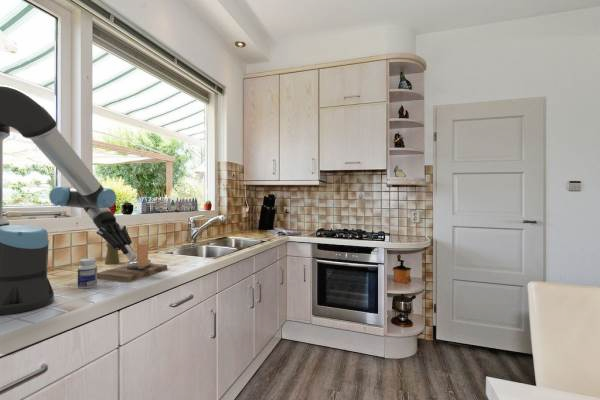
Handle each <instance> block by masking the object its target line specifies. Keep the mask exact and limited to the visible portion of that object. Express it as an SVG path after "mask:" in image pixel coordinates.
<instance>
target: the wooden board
mask: <svg viewBox="0 0 600 400" xmlns="http://www.w3.org/2000/svg"><path fill="white" fill-rule="evenodd" d="M166 270H168V265H167V264H161V263H153V262H151V266H150V267H148V268H144V269H128V268H127V264H126V265H122V266H119V267H115V268H110V269H106V270H102V271H99V272H97V280H103V281H104V280H106V281H114V282H115V281H116V282H123V283H129V282H133V281H135V280H139V279H142V278H144V277H148V276H151V275H153V274H157V273H160V272H163V271H166Z"/></svg>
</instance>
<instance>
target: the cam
mask: <svg viewBox="0 0 600 400" xmlns="http://www.w3.org/2000/svg"><path fill="white" fill-rule="evenodd" d="M136 247H137V248H136V250H137V251H136V256H137V257H136V258H135V259H134V260H133V261H129V260H128V261H127V264H126V265H127V268H128V269H144V268H148V267H150V266H151V263H152V261H151V259H149V243H148V242H137V246H136Z"/></svg>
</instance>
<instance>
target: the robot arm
mask: <svg viewBox="0 0 600 400" xmlns="http://www.w3.org/2000/svg"><path fill="white" fill-rule="evenodd" d="M57 126H58V123H57V121H56V120H55V119H54V118H53V116H52V115H51V114H50V113H49V111H48V110H47V109H46V108H44V106H43V105H41V104H40V102H38V101H37V100H36V99H34V98H33V97H32V96H30V95H29V94H27V93H26V92H24V91H22V90H20V89H18V88H15V87H13V86H9V85H3V84H1V85H0V316H2V315H3V316H4V315H13V314H14V315H15V314H21V313H25V312H28V311H29V312H30V311H35V310H37V309H39V308H44V307H46V306H48V305H50V304H52V303H53V302H54V300H55V292H54V290H53V288H52V285H51V283H50V280H49V278H48V261H49V244H50V240H49V233H48V231H47V229H45V228H43V227H40V226H35V225H24V224H10V221H9V220H7V219H6V218H5V217H3V216H4V215H3V205H4V204H3V198H4V197H3V196H4V195H3V193H4V192H3V191H4V190H3V184H4V183H3V181H4V180H3V174H4V173H3V171H4V169H3V168H4V167H3V166H4V165H3V161H4V160H3V159H4V158H3V157H4V156H3V149H4V148H3V147H4V146H3V145H4V140H5V139H6V138H8V137H10V131H11V130H10V128H12V129H13V130H16V131H17V132H18V133H19V134H20V135H21V136H22V137H23V138H25V139H29V140H30V141H32V142H33V143H34V145H35V146H36V147H37V148H38V149H39V150H40V151H41V152H42V154H43V155H44V156H45V157H46V158H47V159H48V160H49V161H50V162H51V164H53V166H54V167H55V168H56V169H57V170H58V172H59V173H61V174H62V176H63V177H64V178H65V179H66V181H67V182H68V183H69V184H70V185H71V186H72V187H68V186H66V185H65V186H62V185H57V186H55V187H53V188H52V189H51V190H50V192H49V196H48V199H49V201H50V203H51V204H52V205H55V206H59V207H67V208H68V207H69V208H70V207H71V208H79V209H80V208H81V209H83V210H84V212H85V213H86V214H87V215H88V216H89V218H90V219H91V221H93V222H92V223H93V224H94V225H95V227H96V228H97V229H98V230H97V231H96V235H98V236H100V237H102V238H103V240H104V241H105V242H106V243H107V242H108V243H109V244H110V245H111V246H112V247H113V248H115V249H116V248H118V249H117V250H118V251H121V253H122V254H124V256H125V257H126V258H127V260H128V261H133V260H135V258H137V253H136V252H134V249H133V248H132V247H131V244H132V243H133V241H132V239H131V236H130V235H129V233H128V231H127V226H126V225H123V226H121V225H120V224H119V223H118V222H117V218H116V216H115V214H113V213H112V211H111V209H110V208H111V207H113V206H114V204H115V203H116V201H117V194H116V192H115V191H114V189H111V188H108V187H106V188H104V186H103V185H102V184H101V182H100V181H99V180H98V179H97V177H96V176H95V175H94V174H93V172H91V170H90V169H89V168H88V166H87V165H86V163H84V161H83V159H81V158H80V156H79V155H78V153H77V152H76V151H75V149H74V148H73V147H72V146H71V145H70V143H69V142H68V141H67V140H66V138H65V137H64V136H63V134H62V133H61V131H59V130H58V128H57Z"/></svg>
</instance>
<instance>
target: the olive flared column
mask: <svg viewBox="0 0 600 400" xmlns="http://www.w3.org/2000/svg"><path fill="white" fill-rule="evenodd" d="M105 246H106V248H107V250H106V254H105V255H106V256H105V260H104V261H105V262H104V265H107V266H108V265H110V266H111V265H112V266H113V265H118V264H120V256H119V250H117V249H118V248H116V249H115V248H113V247H112V246H111V245H110V244H109V243H108V242H107V241H106V245H105Z"/></svg>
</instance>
